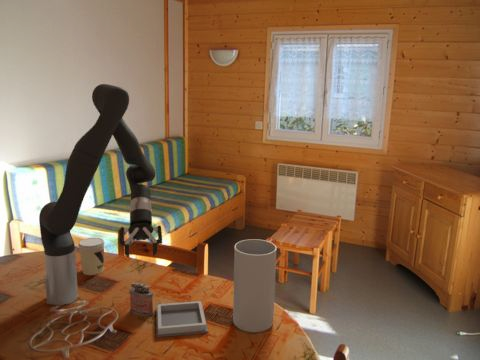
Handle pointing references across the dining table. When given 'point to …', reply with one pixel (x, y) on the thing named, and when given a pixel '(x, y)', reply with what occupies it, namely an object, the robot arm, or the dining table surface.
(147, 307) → the lighter
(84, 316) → the dining table surface
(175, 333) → the tray
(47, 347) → the dining table surface
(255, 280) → the cylinder vase
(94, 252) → the coffee cup
